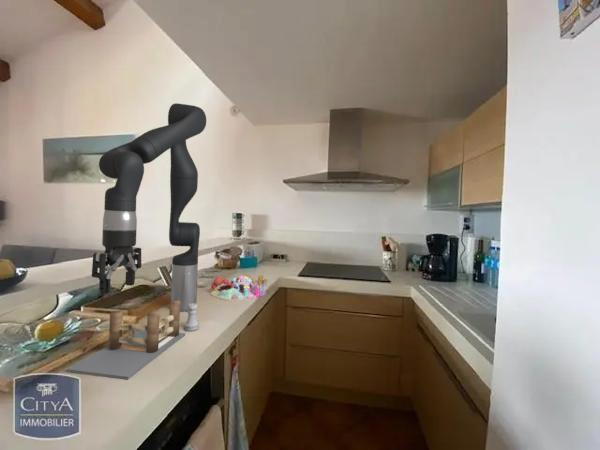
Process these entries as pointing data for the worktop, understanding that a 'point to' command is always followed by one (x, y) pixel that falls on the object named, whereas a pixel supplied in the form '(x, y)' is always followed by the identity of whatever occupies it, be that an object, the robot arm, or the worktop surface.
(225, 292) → the candy landscape model
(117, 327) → the swinging fence panel
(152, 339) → the fixed fence section
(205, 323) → the worktop surface
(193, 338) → the worktop surface
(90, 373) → the board
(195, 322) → the rook chess piece
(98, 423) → the worktop surface
